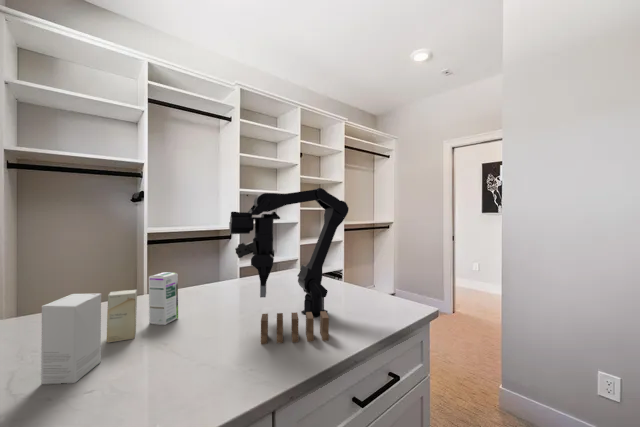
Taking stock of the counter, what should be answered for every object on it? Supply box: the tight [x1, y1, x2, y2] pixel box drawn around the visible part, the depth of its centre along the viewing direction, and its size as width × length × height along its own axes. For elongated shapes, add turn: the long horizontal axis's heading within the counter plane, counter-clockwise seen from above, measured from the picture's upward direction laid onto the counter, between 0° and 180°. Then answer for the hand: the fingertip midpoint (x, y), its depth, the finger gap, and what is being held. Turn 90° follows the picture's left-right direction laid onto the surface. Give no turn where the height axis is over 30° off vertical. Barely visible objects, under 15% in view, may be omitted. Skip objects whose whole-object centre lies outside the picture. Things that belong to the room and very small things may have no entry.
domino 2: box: [276, 312, 284, 344], centre depth 77 cm, size 2×5×6 cm, turn 8°
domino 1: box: [260, 313, 269, 345], centre depth 76 cm, size 2×5×6 cm, turn 8°
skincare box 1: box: [40, 292, 102, 385], centre depth 60 cm, size 8×7×16 cm
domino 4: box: [305, 312, 315, 342], centre depth 78 cm, size 2×5×6 cm, turn 8°
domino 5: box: [319, 311, 330, 342], centre depth 79 cm, size 2×5×6 cm, turn 8°
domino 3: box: [290, 312, 299, 343], centre depth 78 cm, size 2×5×6 cm, turn 8°
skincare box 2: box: [106, 289, 138, 343], centre depth 77 cm, size 6×4×12 cm
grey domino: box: [259, 281, 267, 298], centre depth 90 cm, size 2×5×9 cm, turn 8°
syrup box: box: [148, 271, 179, 326], centre depth 89 cm, size 6×6×14 cm
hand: (263, 283), depth 90 cm, fingers closed on grey domino, 5 cm apart
